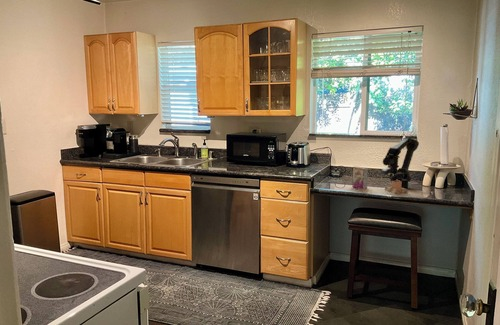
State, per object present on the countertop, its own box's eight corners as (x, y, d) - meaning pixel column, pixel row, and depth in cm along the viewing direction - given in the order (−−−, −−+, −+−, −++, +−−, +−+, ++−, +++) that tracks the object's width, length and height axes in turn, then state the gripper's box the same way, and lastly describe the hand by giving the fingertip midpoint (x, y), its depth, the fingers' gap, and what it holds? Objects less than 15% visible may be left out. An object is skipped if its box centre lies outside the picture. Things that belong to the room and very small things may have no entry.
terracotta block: (391, 191, 298) (391, 180, 296) (396, 190, 299) (397, 180, 298) (395, 192, 293) (395, 181, 292) (401, 192, 294) (401, 181, 293)
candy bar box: (352, 187, 315) (352, 166, 313) (356, 186, 318) (357, 166, 315) (362, 189, 306) (363, 168, 303) (367, 189, 308) (368, 168, 306)
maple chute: (384, 190, 303) (385, 185, 302) (394, 190, 305) (394, 185, 304) (397, 195, 287) (397, 190, 287) (407, 194, 289) (407, 189, 289)
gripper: (377, 162, 304) (376, 182, 307) (391, 166, 286) (390, 187, 289) (390, 162, 307) (389, 182, 309) (404, 165, 289) (403, 187, 291)
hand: (392, 184), depth 300 cm, fingers closed
